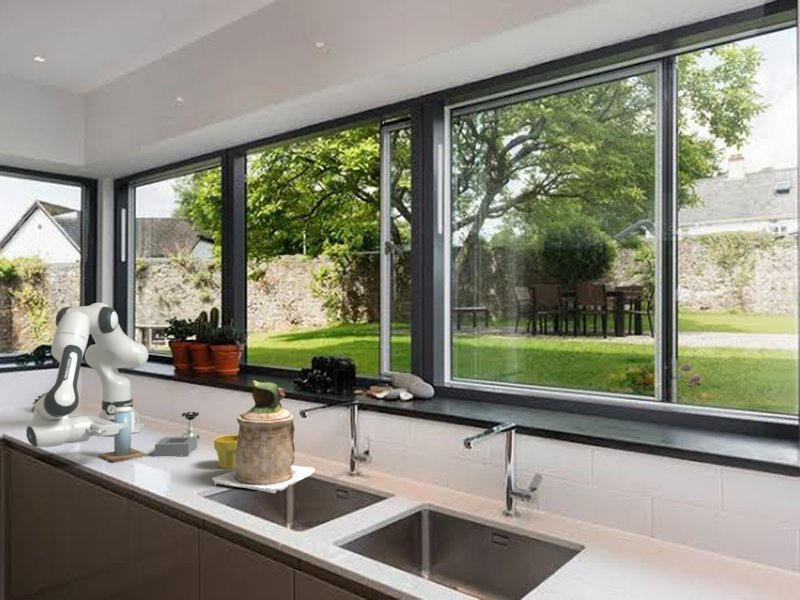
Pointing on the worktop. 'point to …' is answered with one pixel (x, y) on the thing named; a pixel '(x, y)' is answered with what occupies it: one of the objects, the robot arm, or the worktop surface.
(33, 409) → the green leafy plant
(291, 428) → the cookie jar
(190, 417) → the valve
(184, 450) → the housing
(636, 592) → the worktop surface
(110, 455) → the board
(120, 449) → the blue bottle
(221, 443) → the plant pot
